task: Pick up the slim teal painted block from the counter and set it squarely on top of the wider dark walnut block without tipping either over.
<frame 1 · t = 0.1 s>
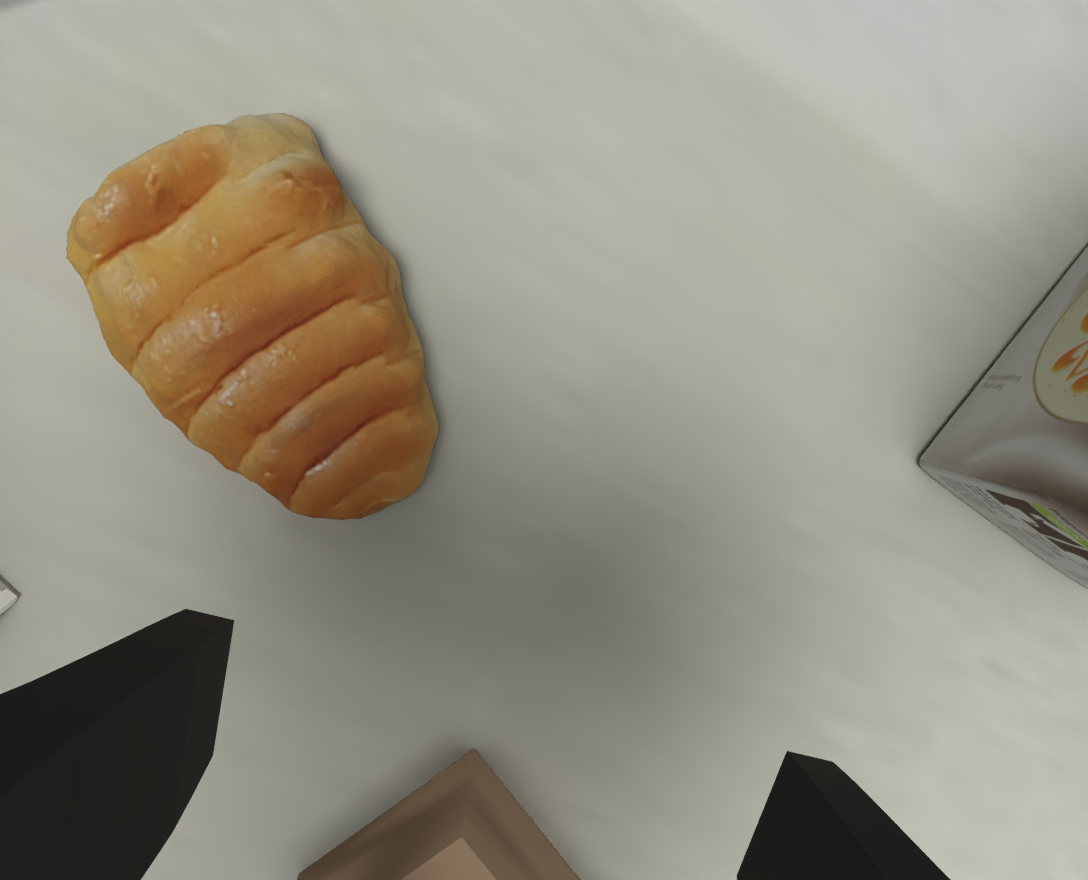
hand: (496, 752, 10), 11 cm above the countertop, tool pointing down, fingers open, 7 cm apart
pastry: (290, 314, 20), on the countertop
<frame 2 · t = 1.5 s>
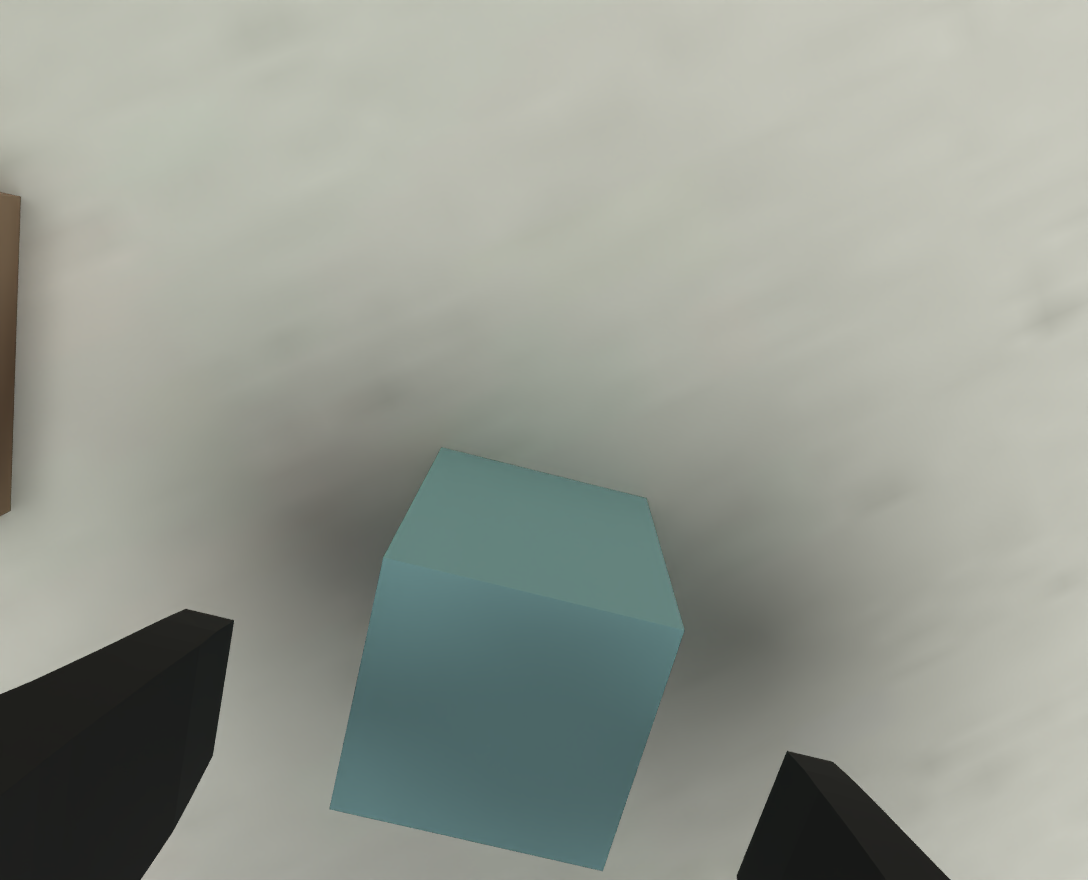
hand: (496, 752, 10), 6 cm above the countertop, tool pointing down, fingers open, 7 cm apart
teal block: (519, 565, 16), on the countertop
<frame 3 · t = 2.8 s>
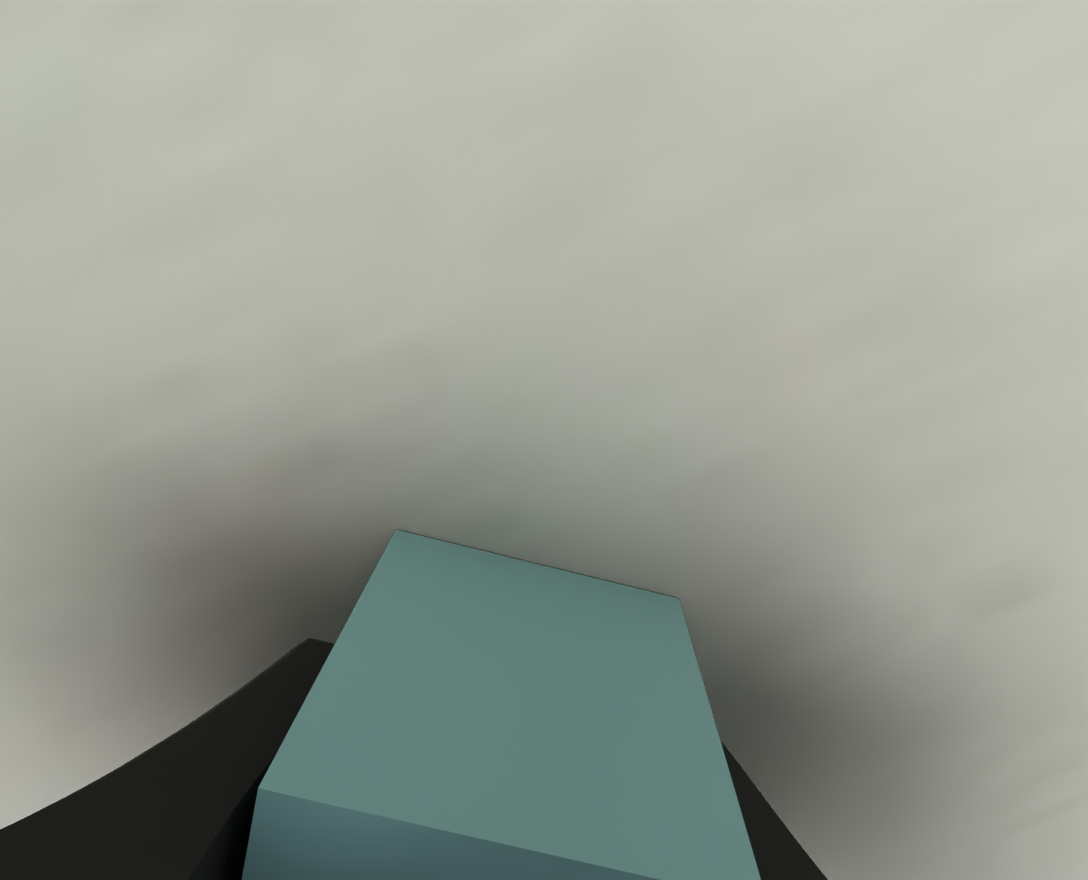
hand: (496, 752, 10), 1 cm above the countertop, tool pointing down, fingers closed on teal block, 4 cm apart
teal block: (504, 687, 11), on the countertop, touching gripper
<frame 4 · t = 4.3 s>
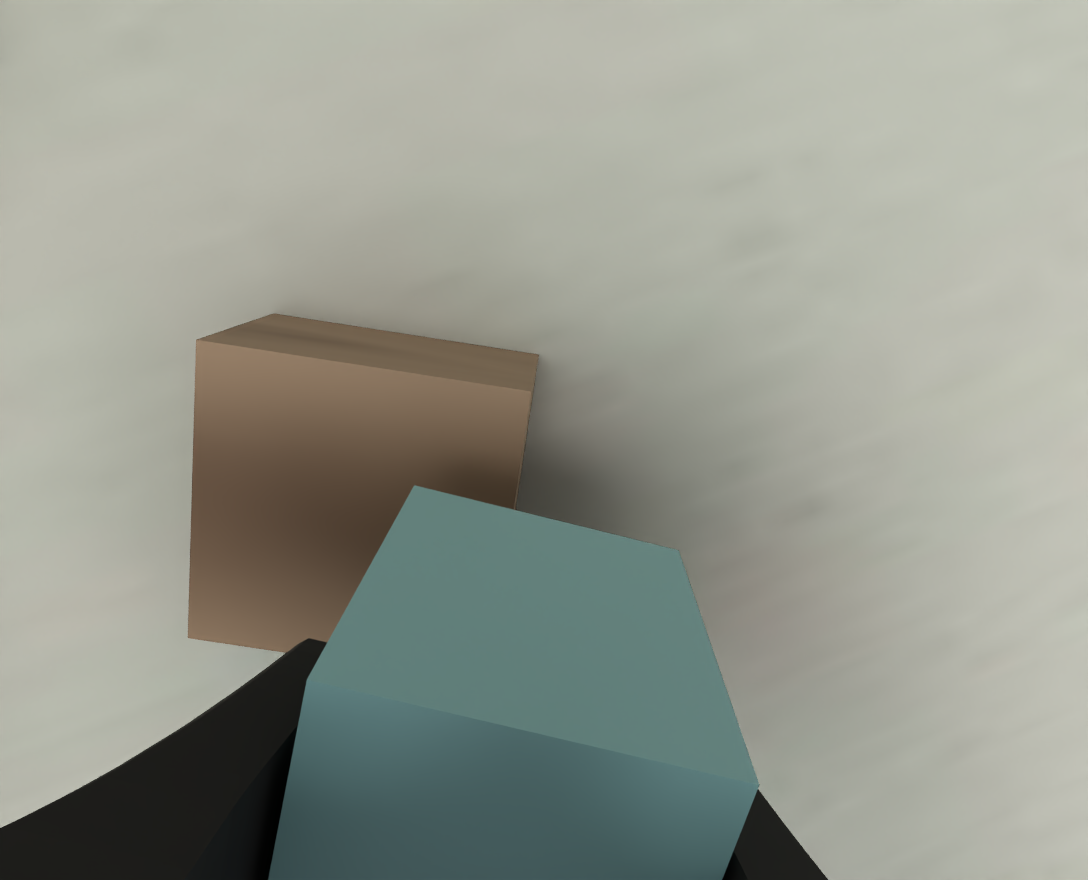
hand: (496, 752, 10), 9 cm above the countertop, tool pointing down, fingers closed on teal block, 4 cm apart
walnut block: (395, 458, 19), on the countertop
teal block: (515, 635, 12), point 7 cm above the countertop, touching gripper
when the fingers open (7 cm above the countertop, at t = 5.7 s): teal block stays where it is, resting on walnut block.
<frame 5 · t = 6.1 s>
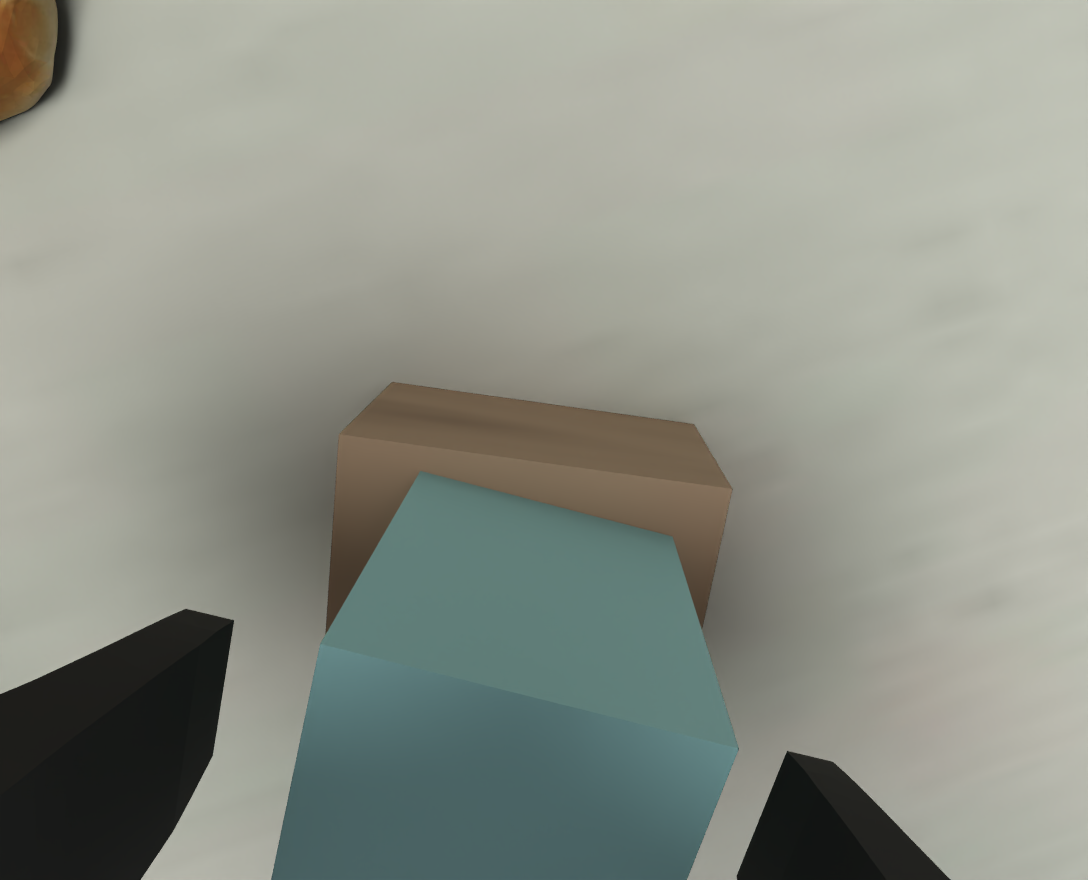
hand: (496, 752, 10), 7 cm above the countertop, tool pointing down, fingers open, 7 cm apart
walnut block: (524, 538, 17), on the countertop, touching teal block
teal block: (515, 616, 13), point 4 cm above the countertop, touching walnut block
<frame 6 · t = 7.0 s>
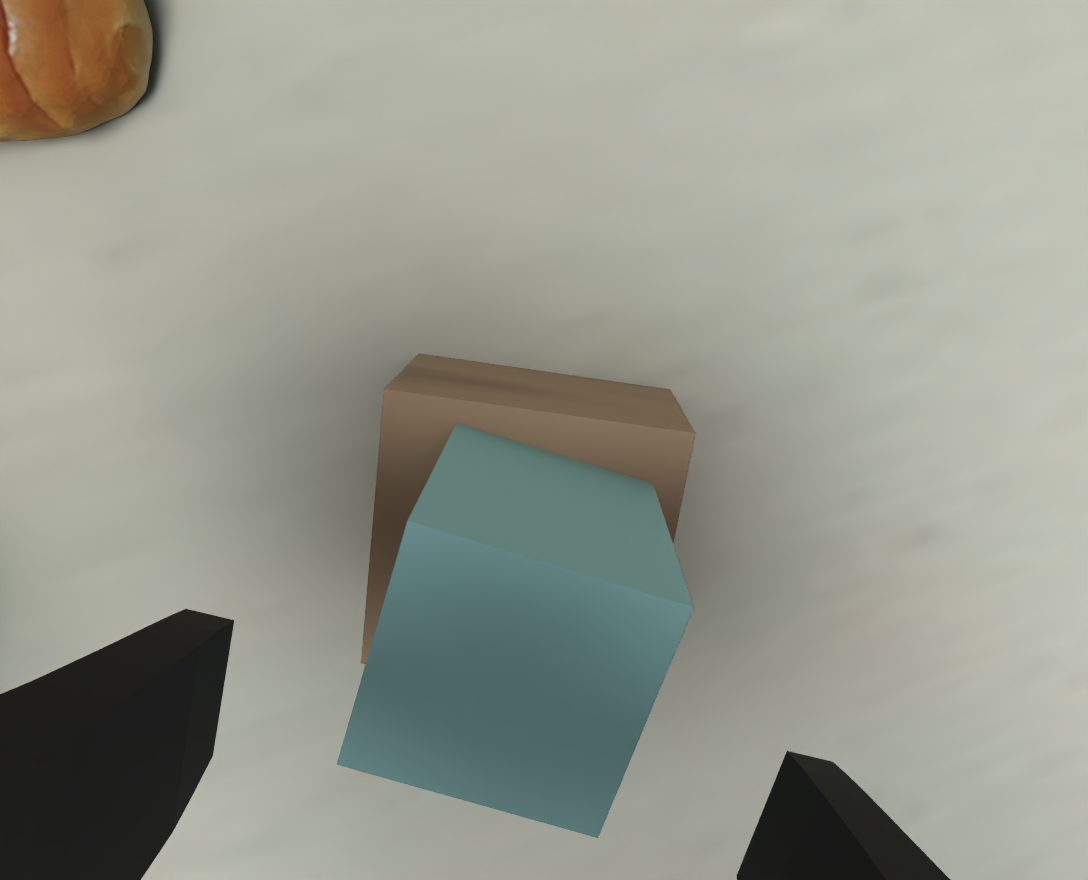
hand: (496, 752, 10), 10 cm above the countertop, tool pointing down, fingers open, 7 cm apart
walnut block: (528, 486, 20), on the countertop, touching teal block
teal block: (525, 543, 16), point 4 cm above the countertop, touching walnut block
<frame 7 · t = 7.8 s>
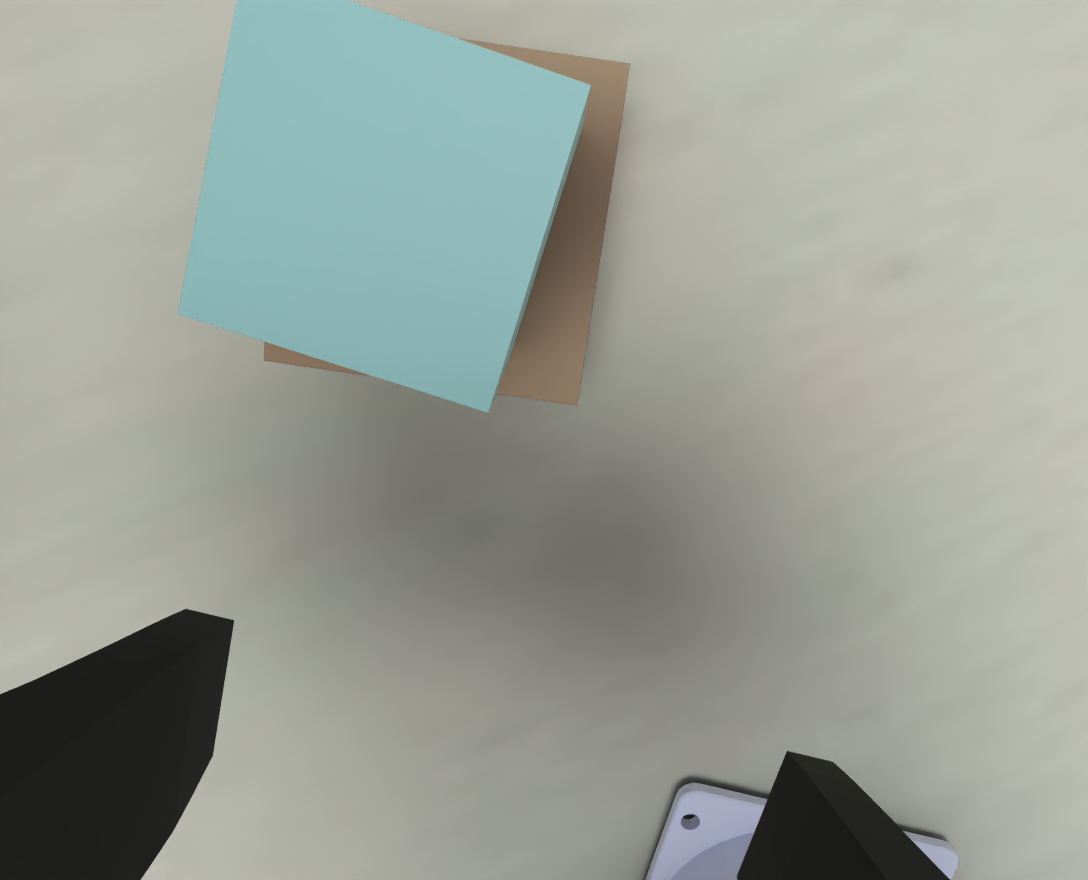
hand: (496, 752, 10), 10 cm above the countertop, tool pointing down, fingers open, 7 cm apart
walnut block: (464, 218, 18), on the countertop, touching teal block
teal block: (439, 206, 14), point 4 cm above the countertop, touching walnut block
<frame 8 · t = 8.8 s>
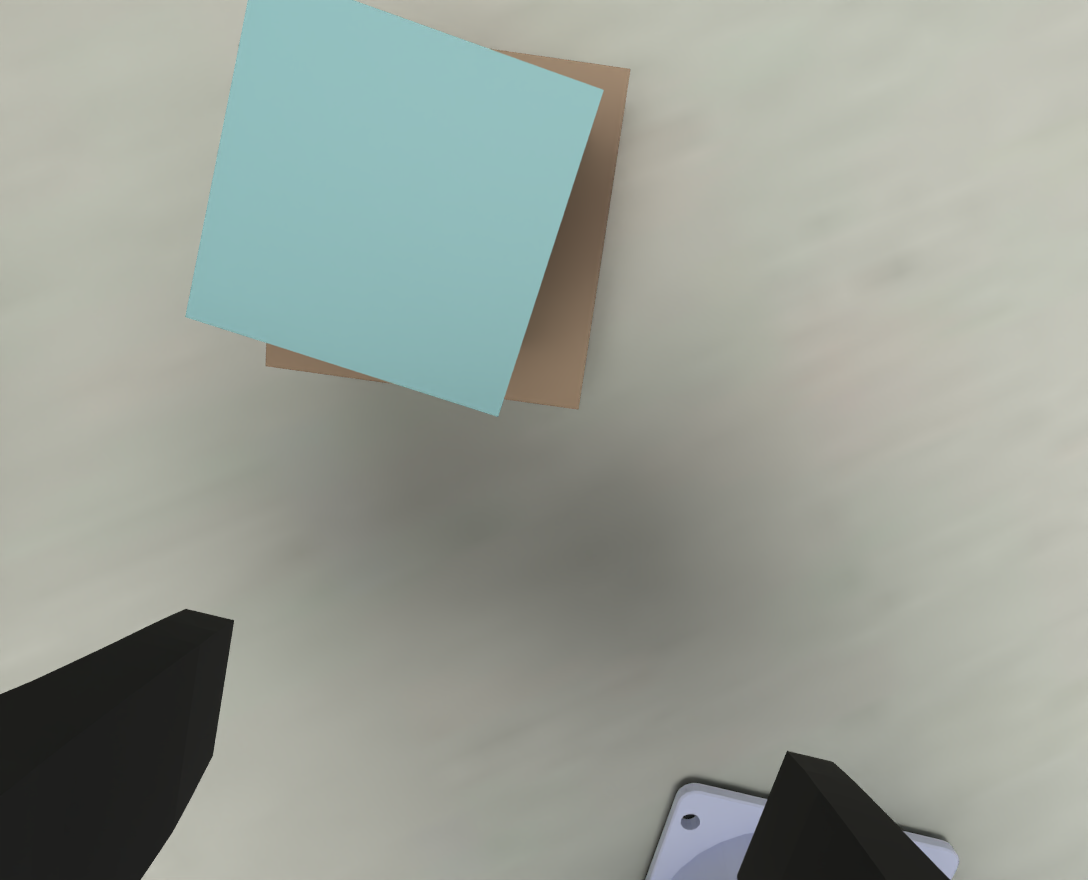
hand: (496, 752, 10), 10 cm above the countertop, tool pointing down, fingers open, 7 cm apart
walnut block: (465, 222, 18), on the countertop
teal block: (442, 207, 14), point 4 cm above the countertop
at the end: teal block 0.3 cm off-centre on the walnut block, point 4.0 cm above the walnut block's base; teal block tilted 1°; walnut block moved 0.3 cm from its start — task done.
